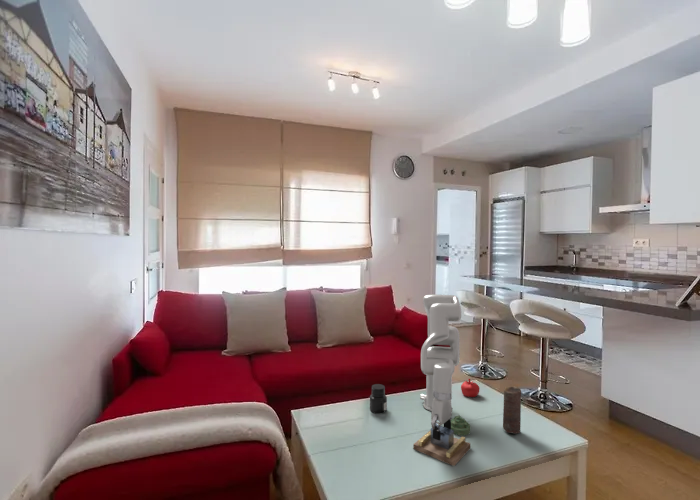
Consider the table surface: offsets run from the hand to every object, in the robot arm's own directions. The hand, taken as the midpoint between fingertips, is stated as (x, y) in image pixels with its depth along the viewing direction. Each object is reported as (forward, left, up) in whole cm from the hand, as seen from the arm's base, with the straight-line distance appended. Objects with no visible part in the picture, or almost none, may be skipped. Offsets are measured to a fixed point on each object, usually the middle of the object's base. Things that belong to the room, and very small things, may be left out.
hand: (442, 434), depth 152 cm
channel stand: (0, 0, -6) cm, 6 cm away
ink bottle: (-41, +11, -6) cm, 43 cm away
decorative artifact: (-1, +19, -6) cm, 20 cm away
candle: (+18, +33, -6) cm, 38 cm away
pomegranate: (-12, +59, -6) cm, 60 cm away
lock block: (0, 0, -4) cm, 4 cm away
